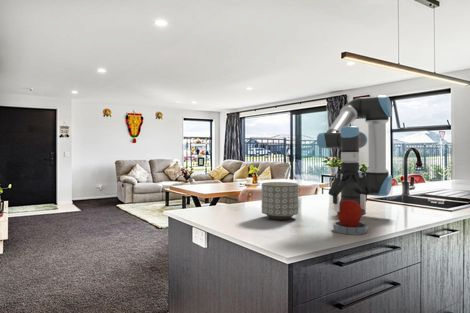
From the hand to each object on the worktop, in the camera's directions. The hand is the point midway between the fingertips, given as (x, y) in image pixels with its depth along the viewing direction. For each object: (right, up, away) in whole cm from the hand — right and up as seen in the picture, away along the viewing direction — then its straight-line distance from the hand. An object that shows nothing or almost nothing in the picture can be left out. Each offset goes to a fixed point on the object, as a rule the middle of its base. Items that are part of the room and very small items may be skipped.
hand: (350, 210), depth 149 cm
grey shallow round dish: (0, -9, 0) cm, 9 cm away
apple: (0, -8, 0) cm, 8 cm away
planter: (-27, -9, +28) cm, 40 cm away
